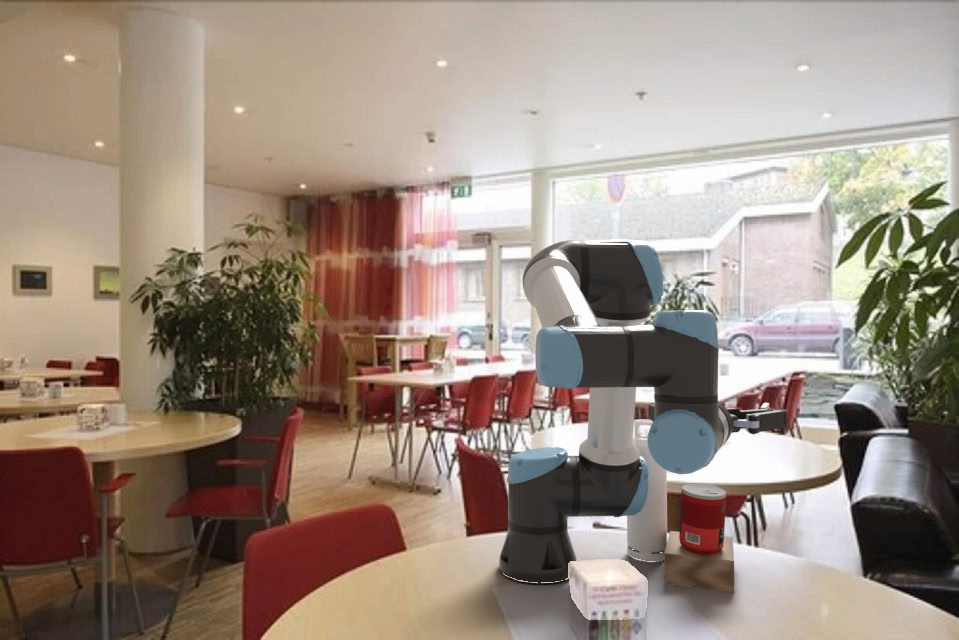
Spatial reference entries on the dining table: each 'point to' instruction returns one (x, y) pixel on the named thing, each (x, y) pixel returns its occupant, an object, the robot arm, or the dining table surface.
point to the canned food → (702, 518)
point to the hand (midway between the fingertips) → (721, 409)
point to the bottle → (649, 507)
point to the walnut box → (699, 566)
